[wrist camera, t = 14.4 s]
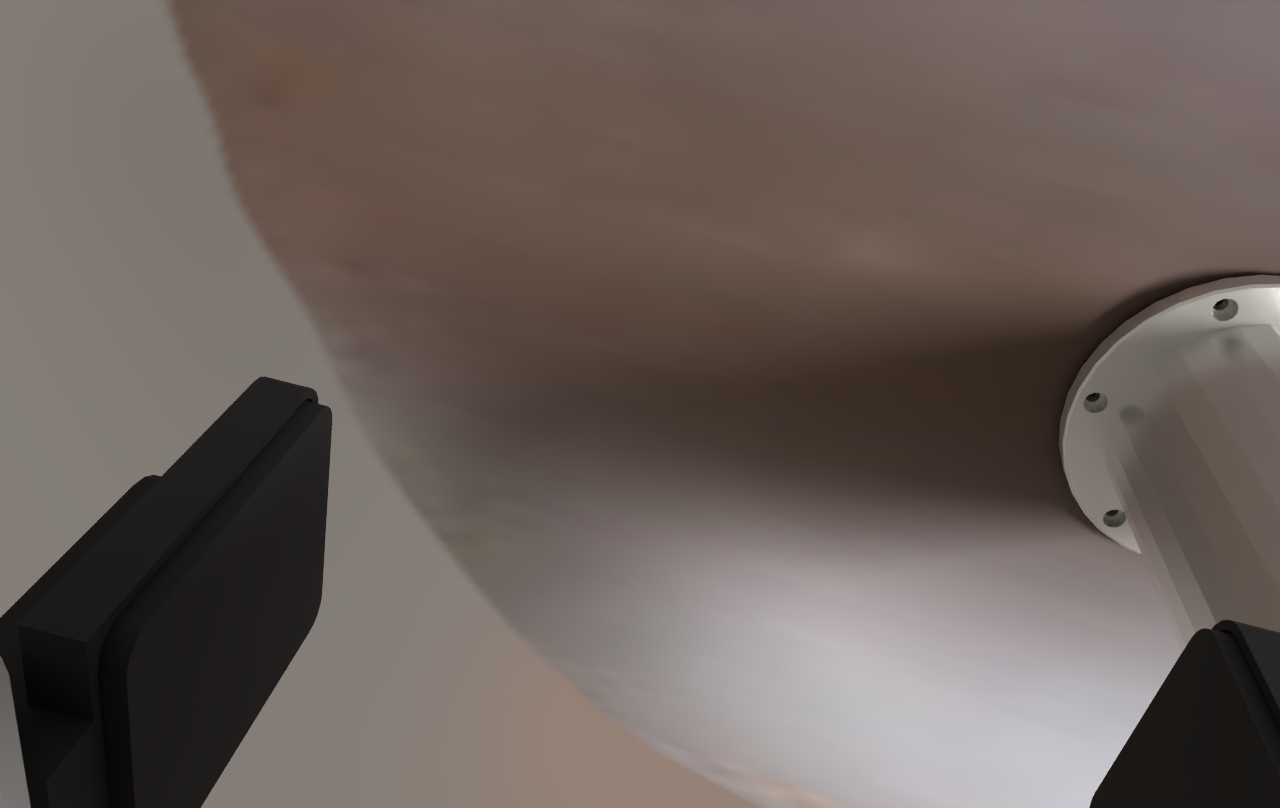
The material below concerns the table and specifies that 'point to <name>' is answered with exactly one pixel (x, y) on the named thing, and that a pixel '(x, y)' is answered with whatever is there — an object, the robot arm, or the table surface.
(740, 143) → the table surface
